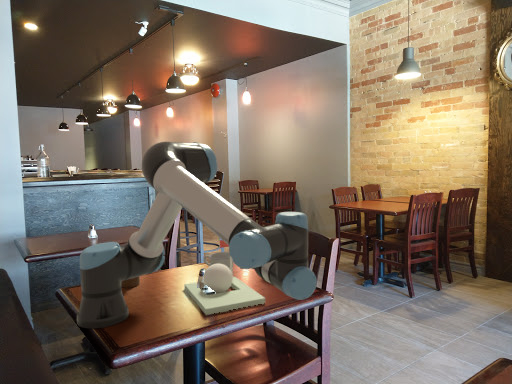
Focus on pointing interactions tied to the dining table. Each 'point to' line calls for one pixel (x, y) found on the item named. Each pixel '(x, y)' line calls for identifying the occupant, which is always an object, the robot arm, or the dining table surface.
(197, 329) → the dining table surface
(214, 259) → the teacup
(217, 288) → the ball
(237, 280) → the putting deck
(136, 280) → the mug
